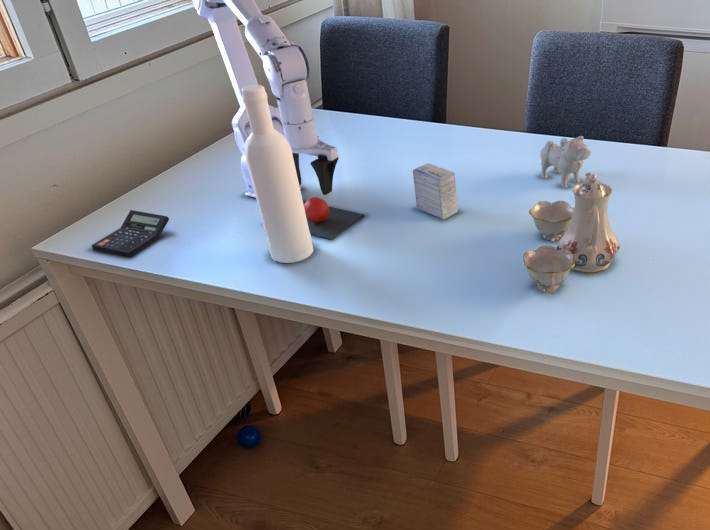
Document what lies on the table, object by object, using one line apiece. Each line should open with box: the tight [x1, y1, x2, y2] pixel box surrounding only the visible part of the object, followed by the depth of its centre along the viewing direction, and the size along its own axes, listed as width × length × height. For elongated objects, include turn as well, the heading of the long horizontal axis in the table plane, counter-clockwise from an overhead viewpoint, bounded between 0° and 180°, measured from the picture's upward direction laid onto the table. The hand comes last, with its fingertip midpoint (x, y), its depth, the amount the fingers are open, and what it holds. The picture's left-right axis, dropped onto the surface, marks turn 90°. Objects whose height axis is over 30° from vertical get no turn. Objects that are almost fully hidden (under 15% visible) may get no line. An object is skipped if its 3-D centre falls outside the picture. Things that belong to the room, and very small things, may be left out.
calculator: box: [91, 209, 170, 258], centre depth 131 cm, size 9×12×3 cm
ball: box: [304, 196, 330, 223], centre depth 132 cm, size 5×5×5 cm
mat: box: [302, 199, 365, 241], centre depth 135 cm, size 16×11×1 cm
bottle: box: [241, 84, 314, 264], centre depth 115 cm, size 8×8×30 cm
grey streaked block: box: [412, 162, 459, 220], centre depth 133 cm, size 8×4×9 cm, turn 47°
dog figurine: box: [539, 135, 592, 189], centre depth 142 cm, size 5×13×11 cm, turn 38°
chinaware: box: [523, 172, 621, 296], centre depth 114 cm, size 28×17×17 cm, turn 178°
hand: (311, 189), depth 129 cm, fingers open, 7 cm apart
